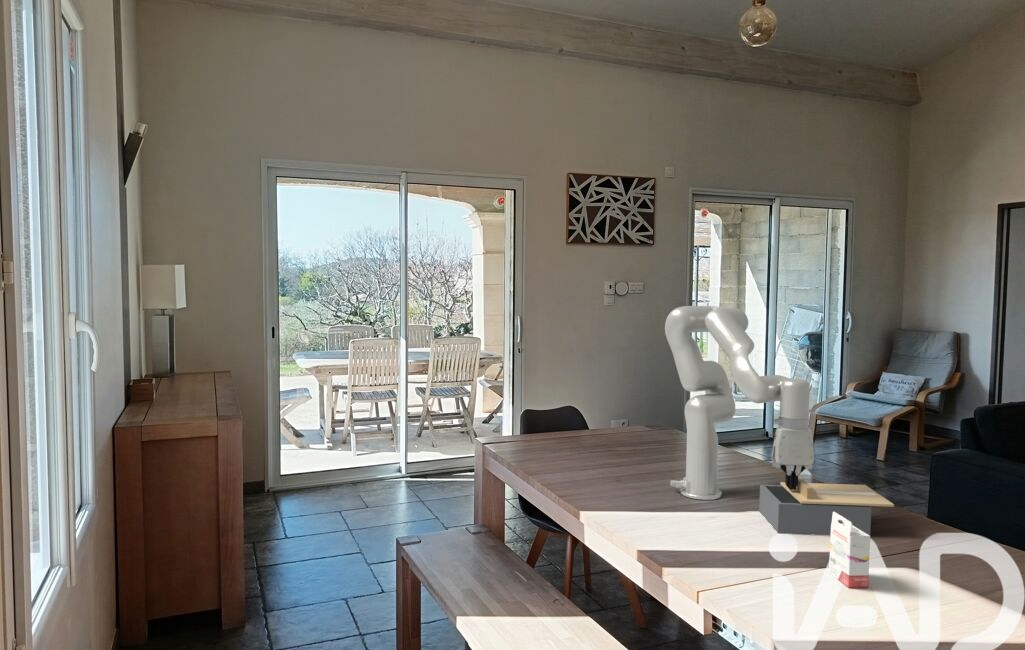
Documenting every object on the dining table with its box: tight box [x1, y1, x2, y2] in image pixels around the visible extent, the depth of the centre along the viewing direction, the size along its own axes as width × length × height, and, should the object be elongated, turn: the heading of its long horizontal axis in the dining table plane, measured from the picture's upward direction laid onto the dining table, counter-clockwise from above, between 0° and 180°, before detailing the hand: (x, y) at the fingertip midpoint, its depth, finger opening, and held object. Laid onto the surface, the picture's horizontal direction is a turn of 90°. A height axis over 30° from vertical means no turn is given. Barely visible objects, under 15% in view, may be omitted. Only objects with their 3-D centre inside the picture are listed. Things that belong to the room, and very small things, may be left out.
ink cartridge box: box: [828, 512, 871, 589], centre depth 159 cm, size 9×5×15 cm, turn 5°
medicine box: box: [799, 469, 813, 483], centre depth 221 cm, size 8×4×9 cm, turn 168°
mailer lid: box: [779, 476, 895, 508], centre depth 196 cm, size 24×18×4 cm
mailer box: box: [758, 484, 872, 536], centre depth 197 cm, size 24×18×8 cm
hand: (791, 488), depth 197 cm, fingers closed
